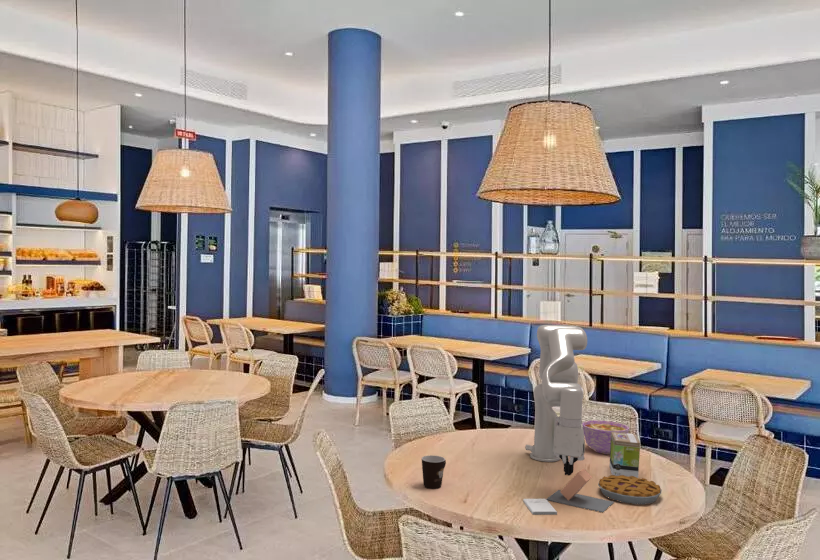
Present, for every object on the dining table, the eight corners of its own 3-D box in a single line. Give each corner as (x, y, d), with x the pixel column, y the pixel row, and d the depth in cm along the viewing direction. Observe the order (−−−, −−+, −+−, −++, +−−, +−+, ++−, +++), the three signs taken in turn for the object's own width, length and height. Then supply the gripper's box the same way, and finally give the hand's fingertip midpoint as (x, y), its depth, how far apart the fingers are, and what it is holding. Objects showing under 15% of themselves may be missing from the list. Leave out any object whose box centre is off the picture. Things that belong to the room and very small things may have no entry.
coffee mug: (427, 491, 243) (428, 463, 243) (416, 483, 251) (417, 456, 251) (455, 487, 249) (456, 459, 249) (443, 480, 256) (444, 453, 256)
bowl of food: (603, 443, 318) (604, 418, 317) (637, 454, 301) (638, 428, 300) (571, 448, 307) (572, 422, 307) (605, 460, 290) (606, 433, 290)
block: (559, 491, 239) (577, 472, 236) (566, 487, 244) (583, 468, 241) (568, 500, 237) (586, 481, 234) (574, 496, 242) (592, 477, 239)
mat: (546, 499, 239) (546, 498, 239) (558, 490, 249) (558, 489, 249) (603, 513, 228) (603, 511, 228) (613, 502, 238) (613, 501, 238)
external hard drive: (532, 516, 224) (522, 502, 237) (557, 516, 225) (546, 502, 237) (532, 511, 224) (523, 498, 237) (557, 511, 225) (546, 498, 237)
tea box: (639, 480, 264) (640, 442, 264) (612, 477, 266) (613, 440, 266) (634, 469, 279) (636, 433, 279) (608, 466, 281) (610, 430, 281)
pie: (606, 481, 262) (607, 468, 262) (666, 493, 251) (667, 479, 250) (590, 497, 243) (590, 483, 243) (654, 511, 232) (654, 496, 232)
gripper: (546, 421, 241) (544, 472, 241) (587, 427, 233) (585, 481, 233) (554, 417, 247) (552, 467, 248) (594, 423, 239) (592, 476, 239)
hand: (568, 474), depth 240 cm, fingers closed
